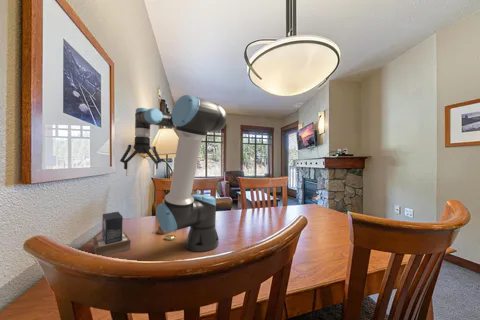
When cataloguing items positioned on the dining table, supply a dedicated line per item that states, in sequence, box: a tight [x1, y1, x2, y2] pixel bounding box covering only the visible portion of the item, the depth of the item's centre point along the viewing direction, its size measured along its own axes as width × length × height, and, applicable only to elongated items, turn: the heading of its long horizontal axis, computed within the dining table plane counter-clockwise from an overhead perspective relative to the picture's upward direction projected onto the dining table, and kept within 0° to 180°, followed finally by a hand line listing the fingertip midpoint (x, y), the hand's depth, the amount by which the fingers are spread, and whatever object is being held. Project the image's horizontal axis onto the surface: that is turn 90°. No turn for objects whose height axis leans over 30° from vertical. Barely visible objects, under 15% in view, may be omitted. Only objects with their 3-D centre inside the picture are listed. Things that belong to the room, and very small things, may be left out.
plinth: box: [92, 232, 132, 257], centre depth 83 cm, size 12×12×4 cm
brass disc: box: [164, 234, 177, 241], centre depth 95 cm, size 5×5×1 cm
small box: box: [101, 211, 124, 244], centre depth 83 cm, size 11×6×10 cm, turn 42°
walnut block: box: [157, 224, 173, 236], centre depth 103 cm, size 5×5×4 cm
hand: (141, 175), depth 105 cm, fingers open, 13 cm apart
